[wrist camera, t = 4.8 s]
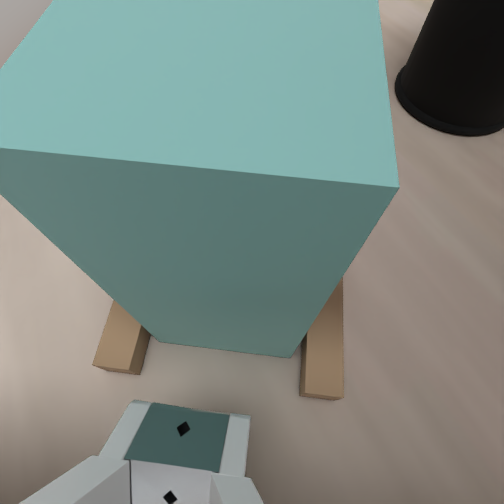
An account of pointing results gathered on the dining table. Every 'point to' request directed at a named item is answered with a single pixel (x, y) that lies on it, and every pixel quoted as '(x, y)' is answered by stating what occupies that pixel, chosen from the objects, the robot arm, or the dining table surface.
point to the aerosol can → (457, 68)
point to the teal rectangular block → (203, 156)
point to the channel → (312, 358)
